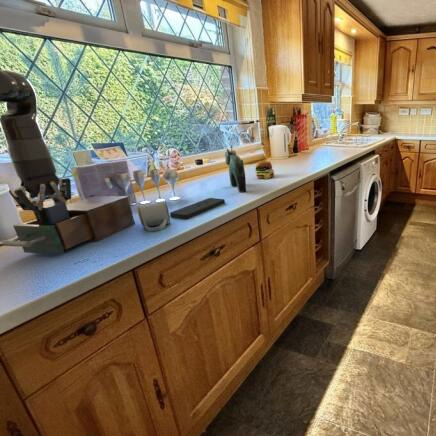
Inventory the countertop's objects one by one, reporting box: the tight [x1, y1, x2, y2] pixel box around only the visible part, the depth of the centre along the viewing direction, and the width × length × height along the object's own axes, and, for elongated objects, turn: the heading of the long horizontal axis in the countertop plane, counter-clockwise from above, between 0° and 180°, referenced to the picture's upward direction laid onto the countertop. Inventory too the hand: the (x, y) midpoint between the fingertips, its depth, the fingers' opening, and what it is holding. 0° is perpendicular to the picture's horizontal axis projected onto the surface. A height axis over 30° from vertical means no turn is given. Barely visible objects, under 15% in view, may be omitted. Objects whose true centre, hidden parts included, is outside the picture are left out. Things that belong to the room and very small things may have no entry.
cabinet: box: [66, 196, 136, 243], centre depth 94 cm, size 15×13×10 cm
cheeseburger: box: [255, 160, 275, 180], centre depth 164 cm, size 10×11×10 cm
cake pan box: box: [70, 159, 137, 203], centre depth 118 cm, size 19×5×18 cm, turn 155°
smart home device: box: [169, 197, 226, 220], centre depth 114 cm, size 8×2×20 cm
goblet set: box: [103, 168, 182, 207], centre depth 123 cm, size 28×6×13 cm, turn 117°
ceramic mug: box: [137, 200, 172, 232], centre depth 97 cm, size 11×8×8 cm
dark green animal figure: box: [224, 144, 247, 193], centre depth 141 cm, size 20×6×20 cm, turn 28°
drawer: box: [1, 213, 94, 256], centre depth 82 cm, size 18×11×8 cm, turn 170°
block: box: [39, 201, 70, 224], centre depth 82 cm, size 5×5×5 cm
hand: (54, 219), depth 82 cm, fingers closed on block, 4 cm apart
